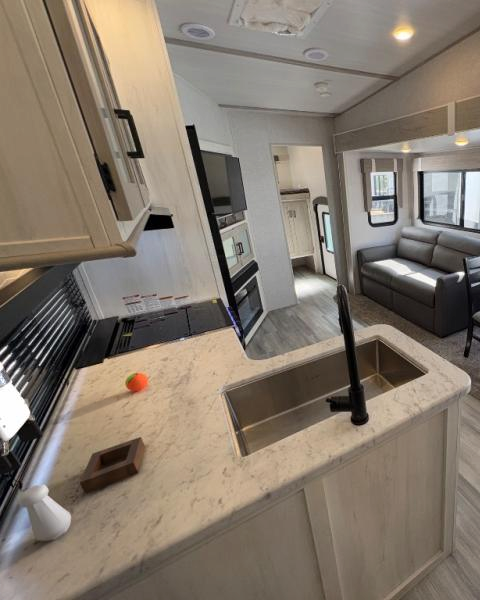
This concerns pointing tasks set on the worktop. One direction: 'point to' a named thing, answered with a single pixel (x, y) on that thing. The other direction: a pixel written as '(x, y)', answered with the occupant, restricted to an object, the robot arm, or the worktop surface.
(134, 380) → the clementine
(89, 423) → the worktop surface
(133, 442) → the holder
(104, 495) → the worktop surface
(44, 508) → the salt shaker
